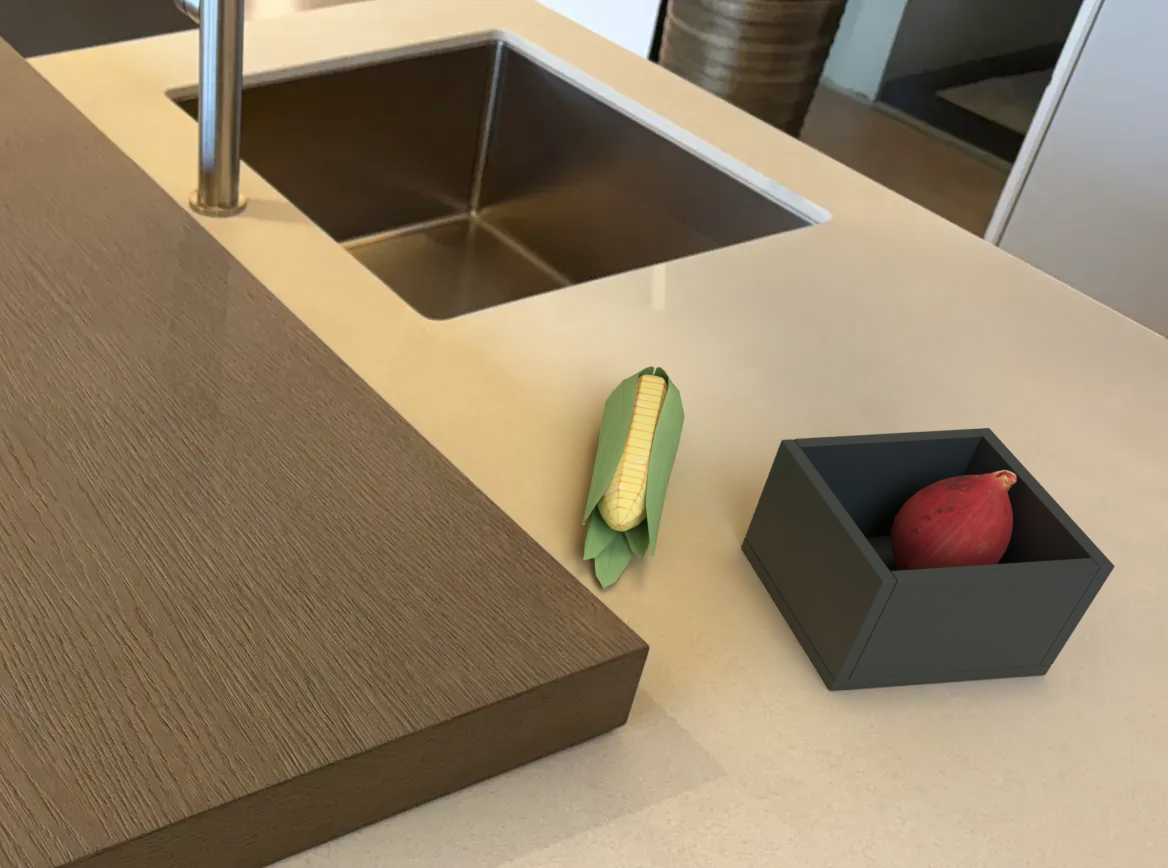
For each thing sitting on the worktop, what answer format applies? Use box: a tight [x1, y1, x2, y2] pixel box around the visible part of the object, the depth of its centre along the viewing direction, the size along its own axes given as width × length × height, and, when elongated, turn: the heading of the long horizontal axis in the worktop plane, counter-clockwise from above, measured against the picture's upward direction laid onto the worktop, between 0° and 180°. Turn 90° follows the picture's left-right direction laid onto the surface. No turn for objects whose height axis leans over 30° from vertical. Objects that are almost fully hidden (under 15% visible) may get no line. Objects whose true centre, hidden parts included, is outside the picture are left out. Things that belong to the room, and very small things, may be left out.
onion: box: [891, 470, 1017, 571], centre depth 77 cm, size 6×6×8 cm
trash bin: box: [740, 427, 1116, 692], centre depth 76 cm, size 13×13×8 cm
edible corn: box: [582, 365, 686, 589], centre depth 85 cm, size 5×20×5 cm, turn 161°
